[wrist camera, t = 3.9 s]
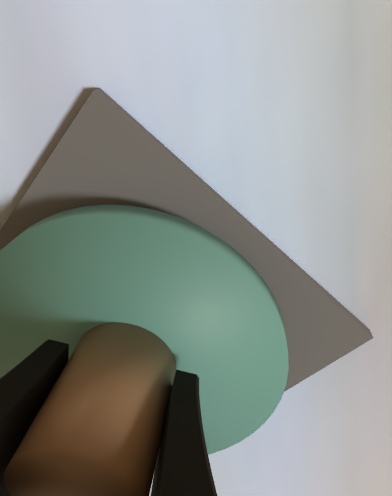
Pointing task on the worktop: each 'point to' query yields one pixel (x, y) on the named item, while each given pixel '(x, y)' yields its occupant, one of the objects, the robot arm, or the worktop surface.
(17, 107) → the worktop surface
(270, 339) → the lid
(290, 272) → the mat
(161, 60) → the worktop surface
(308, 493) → the worktop surface
